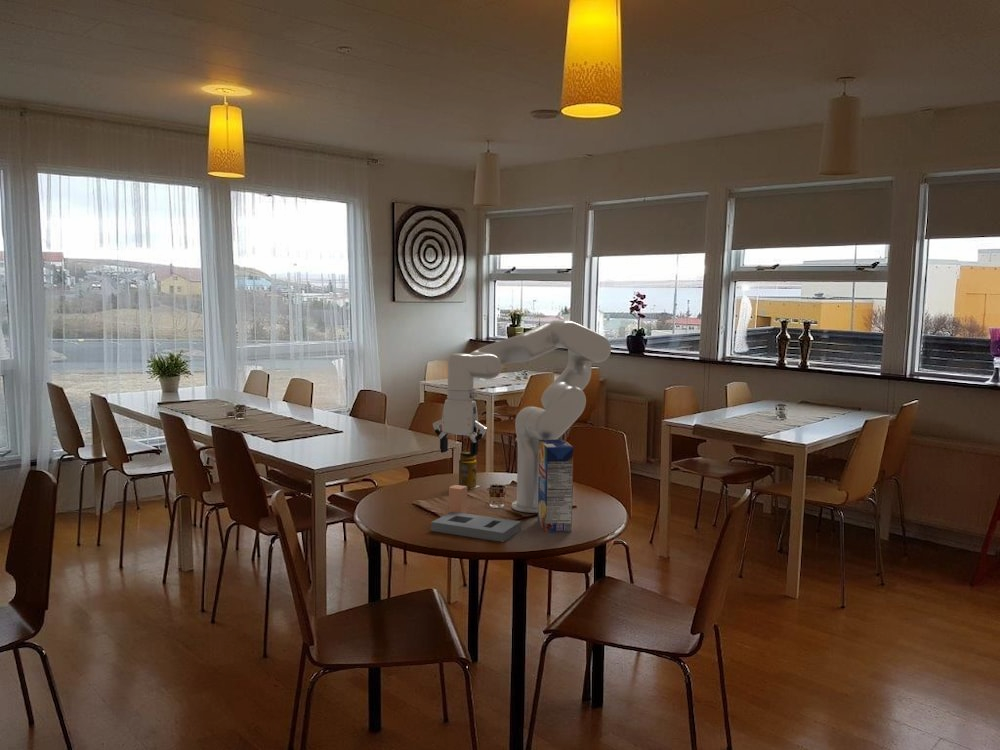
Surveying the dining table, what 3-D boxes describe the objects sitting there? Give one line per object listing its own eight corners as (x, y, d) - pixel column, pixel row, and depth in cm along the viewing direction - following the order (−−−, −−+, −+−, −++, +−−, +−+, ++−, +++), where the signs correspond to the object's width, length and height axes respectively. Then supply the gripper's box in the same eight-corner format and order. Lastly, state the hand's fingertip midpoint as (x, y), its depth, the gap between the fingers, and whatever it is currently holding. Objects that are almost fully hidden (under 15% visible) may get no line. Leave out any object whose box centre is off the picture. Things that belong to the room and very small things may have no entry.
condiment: (481, 486, 264) (481, 452, 263) (463, 490, 258) (463, 455, 257) (467, 483, 269) (467, 449, 268) (449, 487, 263) (449, 452, 262)
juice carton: (537, 520, 224) (539, 439, 221) (562, 519, 225) (564, 439, 222) (545, 532, 212) (547, 447, 210) (571, 532, 213) (573, 447, 211)
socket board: (451, 519, 223) (451, 511, 223) (520, 530, 214) (520, 521, 214) (431, 530, 212) (431, 522, 212) (503, 541, 203) (503, 532, 203)
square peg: (455, 514, 229) (455, 484, 228) (467, 515, 228) (467, 486, 227) (448, 517, 226) (449, 487, 225) (460, 519, 224) (461, 489, 223)
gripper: (492, 396, 223) (490, 454, 224) (440, 392, 230) (438, 448, 231) (481, 399, 216) (480, 458, 217) (427, 394, 223) (426, 452, 224)
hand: (458, 453), depth 224 cm, fingers open, 9 cm apart
